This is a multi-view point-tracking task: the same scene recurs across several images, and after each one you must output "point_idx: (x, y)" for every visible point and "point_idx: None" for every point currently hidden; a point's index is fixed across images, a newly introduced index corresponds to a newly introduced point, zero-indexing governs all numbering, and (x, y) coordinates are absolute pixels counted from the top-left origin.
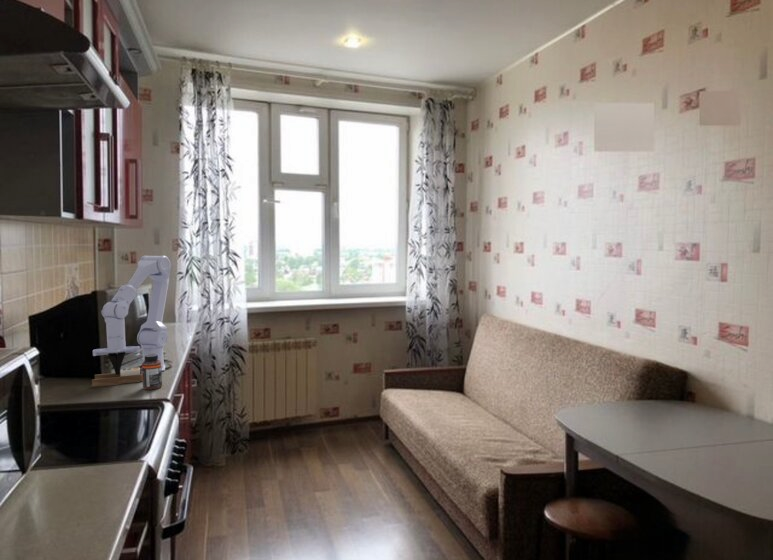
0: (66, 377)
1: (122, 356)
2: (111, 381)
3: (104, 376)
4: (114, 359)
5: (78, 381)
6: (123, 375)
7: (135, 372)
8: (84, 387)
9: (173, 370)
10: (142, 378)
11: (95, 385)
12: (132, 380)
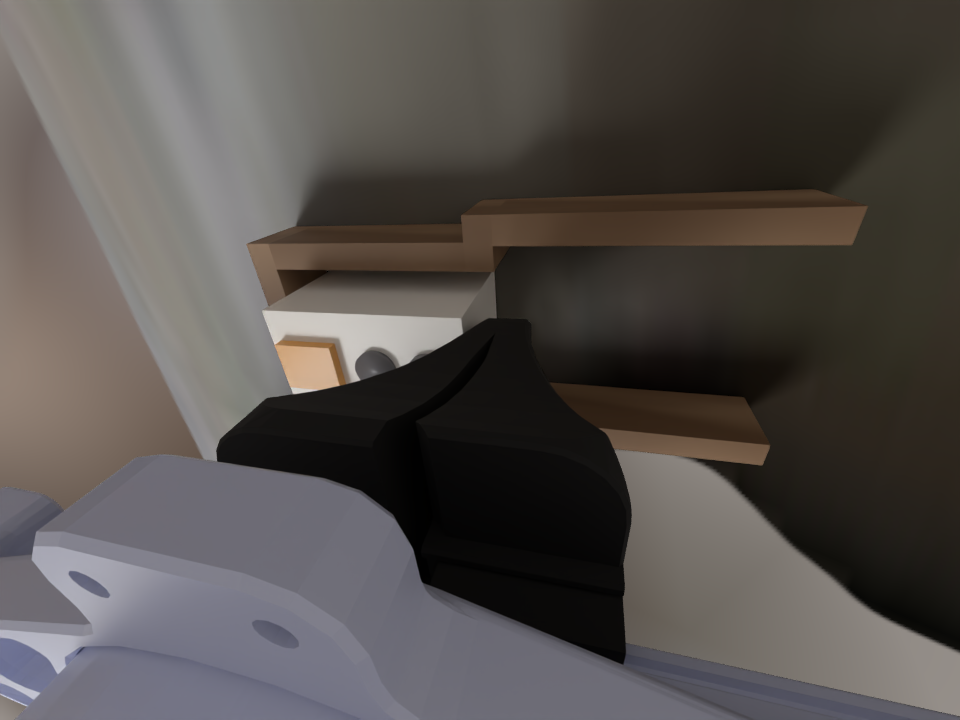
0: (950, 631)
1: (258, 406)
2: (577, 204)
3: (654, 417)
4: (473, 409)
5: (893, 486)
6: (445, 295)
7: (316, 299)
8: (913, 209)
9: (213, 448)
10: (282, 234)
11: (774, 193)
12: (373, 230)
